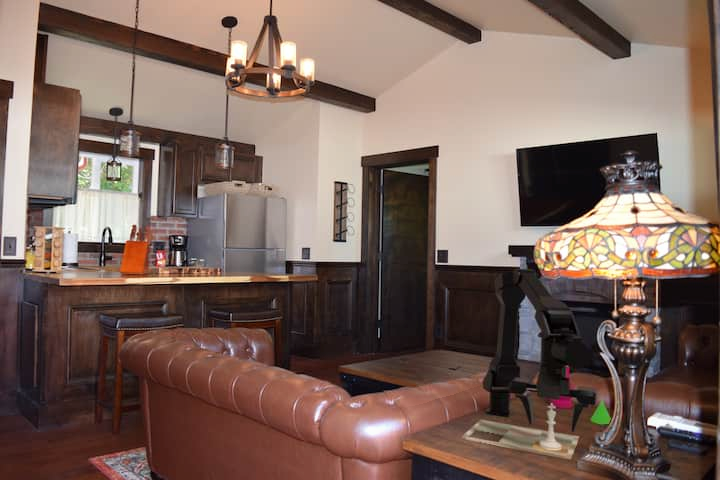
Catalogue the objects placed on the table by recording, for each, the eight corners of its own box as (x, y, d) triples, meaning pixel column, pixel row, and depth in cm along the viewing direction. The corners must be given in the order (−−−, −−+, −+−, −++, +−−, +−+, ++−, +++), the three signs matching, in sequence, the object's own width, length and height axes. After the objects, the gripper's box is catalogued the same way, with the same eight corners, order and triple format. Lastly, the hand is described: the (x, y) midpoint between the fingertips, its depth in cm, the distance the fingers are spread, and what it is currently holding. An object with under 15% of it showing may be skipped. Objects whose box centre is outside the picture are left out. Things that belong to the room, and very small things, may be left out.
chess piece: (563, 451, 124) (564, 406, 124) (540, 449, 125) (541, 404, 125) (560, 444, 128) (561, 401, 129) (538, 442, 129) (539, 399, 130)
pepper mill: (543, 403, 169) (545, 337, 169) (563, 402, 171) (564, 337, 171) (558, 409, 162) (560, 341, 162) (578, 408, 164) (580, 341, 164)
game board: (480, 421, 146) (480, 419, 146) (579, 438, 135) (579, 436, 135) (461, 438, 131) (461, 436, 131) (570, 459, 120) (570, 457, 120)
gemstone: (598, 425, 147) (599, 403, 148) (585, 419, 153) (585, 397, 153) (618, 425, 148) (619, 403, 149) (604, 418, 154) (604, 397, 155)
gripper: (504, 360, 124) (502, 430, 124) (594, 371, 116) (592, 446, 115) (515, 353, 134) (513, 418, 134) (598, 363, 126) (596, 432, 125)
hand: (551, 428), depth 127 cm, fingers open, 9 cm apart
